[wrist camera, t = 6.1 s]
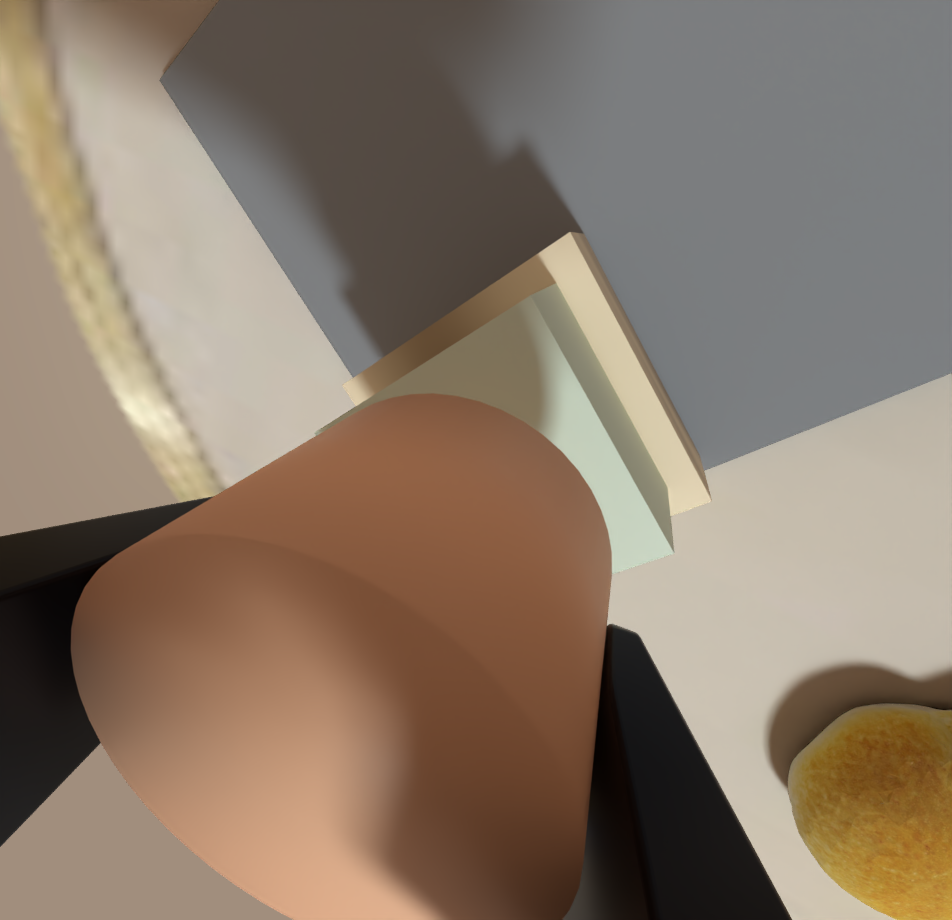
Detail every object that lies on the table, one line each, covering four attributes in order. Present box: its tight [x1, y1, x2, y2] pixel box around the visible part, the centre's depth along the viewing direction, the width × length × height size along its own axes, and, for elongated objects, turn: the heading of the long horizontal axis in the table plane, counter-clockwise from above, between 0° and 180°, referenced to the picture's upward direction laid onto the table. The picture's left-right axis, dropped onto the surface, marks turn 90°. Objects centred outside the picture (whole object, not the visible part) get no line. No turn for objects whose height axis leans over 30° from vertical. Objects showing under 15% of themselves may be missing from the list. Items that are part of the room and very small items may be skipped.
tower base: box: [342, 232, 712, 516], centre depth 14 cm, size 7×7×3 cm
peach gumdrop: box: [71, 393, 612, 920], centre depth 7 cm, size 5×5×4 cm
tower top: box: [315, 283, 674, 574], centre depth 12 cm, size 6×6×3 cm
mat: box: [160, 0, 952, 471], centre depth 13 cm, size 17×18×1 cm
